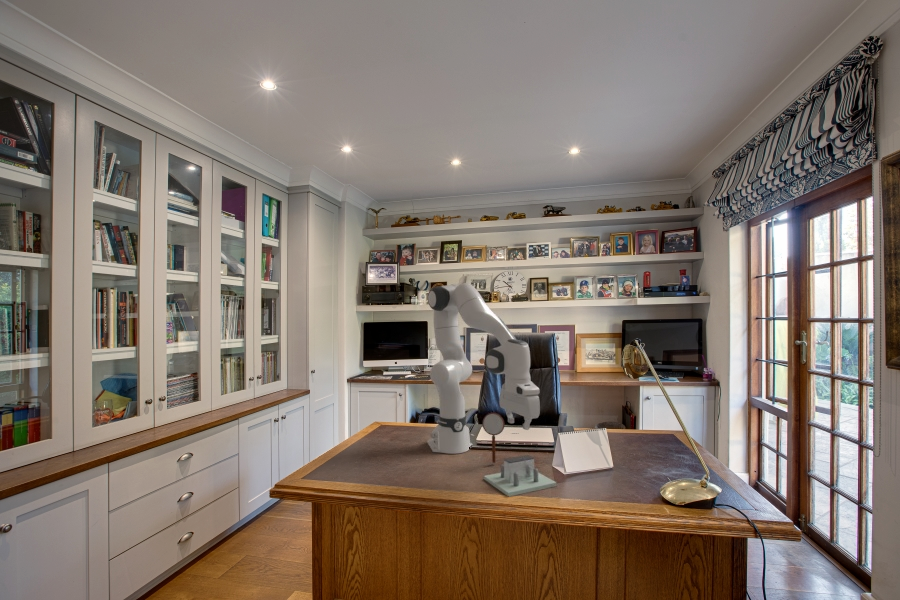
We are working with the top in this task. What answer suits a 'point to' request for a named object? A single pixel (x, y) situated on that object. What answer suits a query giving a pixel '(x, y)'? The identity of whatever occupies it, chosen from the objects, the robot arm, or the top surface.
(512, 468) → the block
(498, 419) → the magnifying glass
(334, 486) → the top surface
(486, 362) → the robot arm
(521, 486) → the pin tray
